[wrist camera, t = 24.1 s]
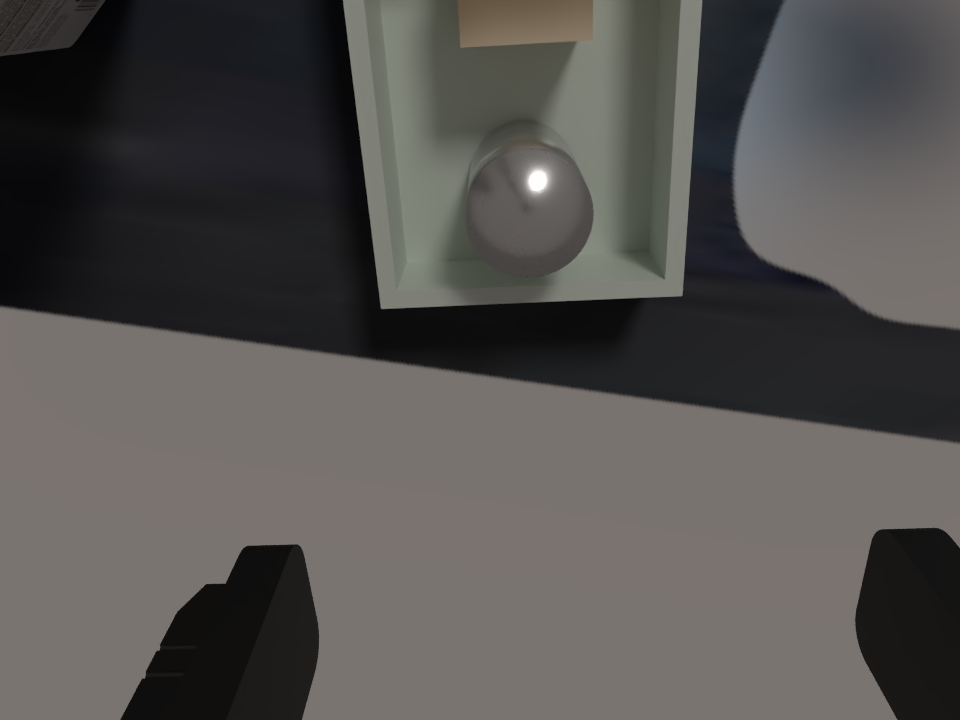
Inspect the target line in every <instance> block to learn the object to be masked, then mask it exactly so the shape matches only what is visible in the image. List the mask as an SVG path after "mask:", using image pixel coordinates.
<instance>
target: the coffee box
mask: <svg viewBox="0 0 960 720" xmlns="http://www.w3.org/2000/svg"><path fill="white" fill-rule="evenodd" d="M104 2H105V0H0V56H5V55H14V54H23V53H28V52H36V51H44V50H55V49H61V48H68V47H71V46H72V45H73V44H74V43H75V42H76V40H77V39H78V38H79V36H80V35H81V34H82V32H83V31H84V29H85V28H86V27H87V25H88V24H89V22H90V21H91V20H92V18H93V17H94V16H95V14H96V13H97V11H98V10H99V9H100V7H101V6H102V4H103V3H104Z"/></svg>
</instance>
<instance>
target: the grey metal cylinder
mask: <svg viewBox="0 0 960 720" xmlns="http://www.w3.org/2000/svg"><path fill="white" fill-rule="evenodd" d="M593 216H594V210H593V202H592V198H591V194H590V192H589V189H588V187H587V185H586V182H585V180H584V178H583V176H582V174H581V171H580V169H579V167H578V165H577V163H576V160H575V158H574V156H573V154H572V152H571V150H570V148H569V146H568V144H567V143H566V141H565V140H564V139H563V138H562V137H561V136H560V135H559V134H558V133H557V132H556V131H555V130H553V129H552V128H550V127H548V126H547V125H544V124H542V123H538V122H534V121H527V120H523V121H514V122H510V123H506V124H504V125H501V126H499V127H498V128H496V129H494V130H493V131H491V132H490V133H489V134H488V135H487V136H486V137H485V138H484V139H483V140H482V141H481V143H480V144H479V146H478V147H477V149H476V151H475V153H474V156H473V158H472V162H471V167H470V176H469V185H468V193H467V202H466V212H465V223H466V229H467V233H468V236H469V239H470V242H471V244H472V246H473V247H474V249H475V251H476V252H477V253H478V255H479V256H480V257H481V258H482V259H483V260H484V261H485V262H486V263H487V264H488V265H490V266H491V267H493V268H494V269H496V270H498V271H500V272H502V273H504V274H507V275H510V276H515V277H521V278H535V277H541V276H545V275H549V274H551V273H554V272H556V271H558V270H560V269H562V268H563V267H565V266H566V265H568V264H569V263H570V262H571V261H572V260H574V259H575V258H576V257H577V255H578V254H579V253H580V252H581V251H582V249H583V247H584V246H585V244H586V242H587V240H588V238H589V236H590V233H591V230H592V225H593Z"/></svg>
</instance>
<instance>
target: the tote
mask: <svg viewBox="0 0 960 720" xmlns="http://www.w3.org/2000/svg"><path fill="white" fill-rule="evenodd" d="M343 5H344V13H345V21H346V29H347V37H348V45H349V53H350V62H351V70H352V78H353V86H354V94H355V102H356V110H357V118H358V126H359V134H360V142H361V151H362V159H363V167H364V175H365V183H366V191H367V199H368V207H369V215H370V223H371V232H372V240H373V248H374V256H375V264H376V272H377V280H378V288H379V296H380V304H381V309H393V308H416V307H439V306H462V305H485V304H508V303H531V302H554V301H577V300H600V299H623V298H646V297H669V296H682V293H683V278H684V263H685V248H686V234H687V219H688V204H689V189H690V174H691V159H692V144H693V129H694V114H695V100H696V85H697V70H698V55H699V40H700V25H701V10H702V0H593V40H586V41H569V42H551V43H534V44H517V45H499V46H482V47H465V48H460V32H459V16H458V0H343ZM523 120H527V121H534V122H538V123H542V124H544V125H547V126H548V127H550V128H552V129H553V130H555V131H556V132H557V133H558V134H559V135H560V136H561V137H562V138H563V139H564V140H565V141H566V143H567V144H568V146H569V148H570V150H571V152H572V154H573V156H574V158H575V160H576V163H577V165H578V167H579V169H580V171H581V174H582V176H583V178H584V180H585V182H586V185H587V187H588V189H589V192H590V194H591V198H592V202H593V210H594V216H593V225H592V230H591V233H590V236H589V238H588V240H587V242H586V244H585V246H584V247H583V249H582V251H581V252H580V253H579V254H578V255H577V257H576V258H575V259H574V260H572V261H571V262H570V263H569V264H568V265H566V266H565V267H563V268H562V269H560V270H558V271H556V272H554V273H551V274H549V275H545V276H541V277H535V278H521V277H515V276H510V275H507V274H504V273H502V272H500V271H498V270H496V269H494V268H493V267H491V266H490V265H488V264H487V263H486V262H485V261H484V260H483V259H482V258H481V257H480V256H479V255H478V253H477V252H476V251H475V249H474V247H473V246H472V244H471V242H470V239H469V236H468V233H467V229H466V223H465V212H466V202H467V193H468V185H469V176H470V167H471V162H472V158H473V156H474V153H475V151H476V149H477V147H478V146H479V144H480V143H481V141H482V140H483V139H484V138H485V137H486V136H487V135H488V134H489V133H490V132H491V131H493V130H494V129H496V128H498V127H499V126H501V125H504V124H506V123H510V122H514V121H523Z"/></svg>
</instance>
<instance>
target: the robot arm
mask: <svg viewBox="0 0 960 720" xmlns="http://www.w3.org/2000/svg"><path fill="white" fill-rule="evenodd" d="M855 621H856V622H855V623H856V632H857V633H856V634H857V639H858V643H859V647H860V650H861V653H862V655H863V657H864V659H865V661H866V664H867V665H868V667H869V669H870V671H871V673H872V674H873V676H874V678H875V680H876V682H877V683H878V685H879V687H880V689H881V691H882V692H883V694H884V696H885V698H886V700H887V701H888V703H889V705H890V707H891V709H892V711H893V712H894V714H895V716H896V718H897V719H898V720H960V548H959V547H958V546H957V544H956V543H955V542H954V541H953V539H952V538H951V537H950V536H949V535H948V534H947V533H946V532H945V531H943V530H941V529H939V528H916V529H882V530H879V531H877V532H876V533H875V535H874V536H873V538H872V542H871V546H870V550H869V555H868V560H867V564H866V568H865V573H864V577H863V582H862V587H861V591H860V596H859V600H858V605H857V609H856V618H855ZM318 649H319V630H318V622H317V616H316V612H315V607H314V602H313V597H312V592H311V587H310V582H309V577H308V572H307V568H306V563H305V558H304V554H303V551H302V549H301V547H300V546H299V545H261V546H246V547H245V548H243V550H242V551H241V553H240V555H239V556H238V559H237V561H236V563H235V565H234V567H233V569H232V571H231V573H230V576H229V578H228V580H227V582H226V584H206V585H205V586H204V587H203V588H202V589H201V590H200V591H199V592H198V593H197V594H196V595H195V596H194V597H192V598H191V599H190V601H188V602H187V603H186V604H185V605H184V606H183V607H182V608H181V609H180V610H179V611H178V612H177V614H176V615H175V617H174V619H173V621H172V623H171V625H170V627H169V629H168V631H167V633H166V635H165V636H164V638H163V640H162V642H161V644H160V651H157V652H156V653H155V655H154V657H153V659H152V661H151V663H150V665H149V667H148V669H147V670H146V677H145V679H142V680H141V682H140V684H139V685H138V687H137V689H136V692H135V693H134V695H133V697H132V699H131V701H130V703H129V704H128V706H127V708H126V710H125V712H124V714H123V716H122V718H121V720H302V716H303V713H304V709H305V706H306V702H307V699H308V695H309V691H310V688H311V684H312V680H313V677H314V673H315V669H316V664H317V658H318Z"/></svg>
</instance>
